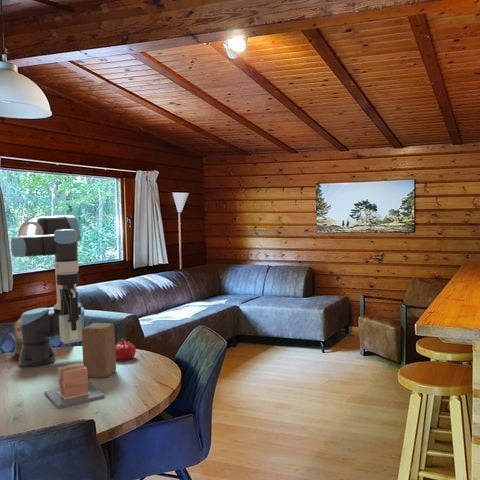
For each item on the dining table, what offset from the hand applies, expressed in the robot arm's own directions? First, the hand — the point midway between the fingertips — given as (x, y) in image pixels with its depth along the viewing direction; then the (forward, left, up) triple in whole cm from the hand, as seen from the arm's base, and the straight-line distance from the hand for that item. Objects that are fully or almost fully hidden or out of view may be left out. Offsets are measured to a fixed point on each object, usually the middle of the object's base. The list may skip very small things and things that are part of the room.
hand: (70, 337), depth 183 cm
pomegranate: (-32, +32, -21) cm, 50 cm away
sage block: (0, 0, -1) cm, 1 cm away
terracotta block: (0, 0, -20) cm, 20 cm away
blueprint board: (0, 0, -21) cm, 21 cm away
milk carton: (-72, +2, -21) cm, 75 cm away
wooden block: (-18, +16, -21) cm, 32 cm away
